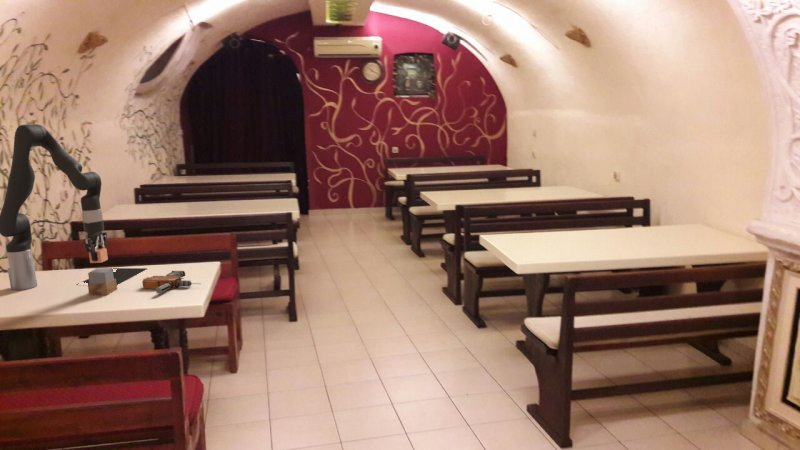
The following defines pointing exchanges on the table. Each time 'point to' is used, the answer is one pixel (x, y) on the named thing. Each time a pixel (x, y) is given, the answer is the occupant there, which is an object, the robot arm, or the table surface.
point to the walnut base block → (102, 288)
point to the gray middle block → (101, 276)
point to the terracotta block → (100, 255)
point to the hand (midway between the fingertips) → (98, 259)
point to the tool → (166, 281)
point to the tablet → (124, 274)
